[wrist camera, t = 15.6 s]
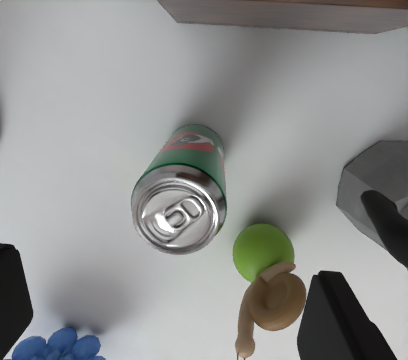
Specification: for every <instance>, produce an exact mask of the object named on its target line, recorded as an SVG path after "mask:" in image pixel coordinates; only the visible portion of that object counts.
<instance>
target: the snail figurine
mask: <svg viewBox="0 0 408 360" xmlns="http://www.w3.org/2000/svg"><path fill="white" fill-rule="evenodd" d="M233 260H234V264H235V266H236V268H237V270H238V272H239V273H240V274H241V275H242V276H243V277H244V278H245V279H246V280H248V281H249V282H251V283H252V284H251V285H250V286H249V287H248V289H247V290H246V292H245V294H244V297H243V300H242V303H241V307H240V312H239V319H238V337H237V340H236V343H235V348H236V352H237V360H238V355H239V356H240V357H243V358H244V360H245V358H248V357H250V356H251V355H252V354H253V352H254V350H255V342H254V339H253V329H254V322H255V323H256V324H257V325H258V326H259V327H261V328H263V329H265V330H268V331H277V330H281V329H284V328H286V327H288V326H290V325H291V324H292V323H293V322H294V321H295V320H296V319H297V318H298V317H299V315H300V314H301V312H302V310H303V308H304V306H305V302H306V288H305V285H304V283H303V281H302V280H301V279H300V278H299V277H298V276H297V275H294V274H291V273H290V272H291V271H293V270H294V269H295V267H296V265H295V264H294V249H293V246H292V243H291V241H290V239H289V238H288V236H287V235H286V234H285V233H284V232H283V231H282V230H280V229H279V228H277V227H275V226H273V225H270V224H254V225H251V226H249V227H247V228H245V229H244V230H243V231H242V232H241V233H240V234H239V235H238V237H237V238H236V240H235V243H234V246H233Z"/></svg>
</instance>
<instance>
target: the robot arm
mask: <svg viewBox="0 0 408 360" xmlns="http://www.w3.org/2000/svg"><path fill="white" fill-rule="evenodd" d="M32 317H33V308H32V304H31V300H30V296H29V291H28V287H27V283H26V279H25V274H24V270H23V266H22V261H21V257H20V253H19V251H18V250H16V249H15V247H14V246H13V245H11V244H2V243H0V360H3V358H4V357H5V356H6V354H7V353H8V352H9V350H10V349H11V348H12V346H13V345H14V344H15V343H16V341H17V340H18V339H19V337H20V336H21V335H22V333H23V332H24V331H25V329H26V328H27V327H28V325H29V324H30V322H31V320H32ZM297 346H298V351H299V355H300V359H301V360H397V358H396V357H395V355H394V353H393V352H392V350H391V348H390V347H389V345H388V343H387V342H386V340H385V338H384V337H383V335H382V333H381V332H380V330H379V329H378V327H377V326H376V325H375V324H374V323H373V322H371V321H370V320H369V318H368V317H367V315H366V313H365V312H364V310H363V308H362V307H361V305H360V303H359V301H358V300H357V298H356V296H355V295H354V293H353V291H352V290H351V288H350V286H349V284H348V283H347V281H346V279H345V278H344V276H343V275H342V273H340V272H334V271H320V272H319V273H318V275H313V277H312V280H311V284H310V288H309V292H308V296H307V300H306V304H305V308H304V312H303V316H302V320H301V324H300V328H299V332H298V336H297Z"/></svg>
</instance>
